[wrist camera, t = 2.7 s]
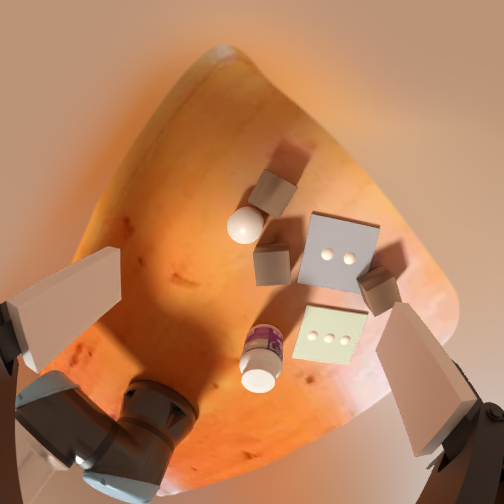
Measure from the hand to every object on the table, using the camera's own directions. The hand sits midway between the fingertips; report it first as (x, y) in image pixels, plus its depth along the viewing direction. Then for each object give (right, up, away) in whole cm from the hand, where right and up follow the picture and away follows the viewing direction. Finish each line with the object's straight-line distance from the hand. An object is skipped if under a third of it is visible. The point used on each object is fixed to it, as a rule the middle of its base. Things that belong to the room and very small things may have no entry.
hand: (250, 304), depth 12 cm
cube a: (+3, +1, +23) cm, 23 cm away
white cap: (0, +6, +22) cm, 23 cm away
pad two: (+11, +2, +22) cm, 25 cm away
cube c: (+16, -2, +22) cm, 27 cm away
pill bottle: (+2, -10, +27) cm, 29 cm away
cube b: (+4, +8, +19) cm, 21 cm away
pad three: (+11, -10, +25) cm, 29 cm away
